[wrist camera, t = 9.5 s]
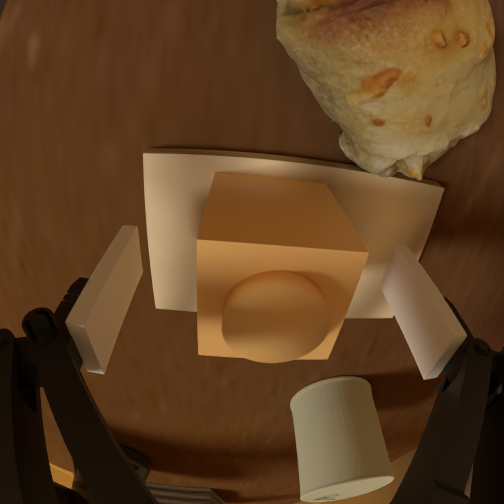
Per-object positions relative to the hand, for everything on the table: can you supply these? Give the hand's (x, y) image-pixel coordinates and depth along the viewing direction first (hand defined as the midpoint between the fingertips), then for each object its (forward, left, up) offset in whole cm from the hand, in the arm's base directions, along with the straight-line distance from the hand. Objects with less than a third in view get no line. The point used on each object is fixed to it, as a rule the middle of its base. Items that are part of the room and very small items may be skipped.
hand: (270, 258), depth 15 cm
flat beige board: (+2, -2, -4) cm, 5 cm away
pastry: (+5, +11, -5) cm, 13 cm away
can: (+10, -21, -5) cm, 24 cm away
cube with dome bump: (0, 0, -3) cm, 3 cm away
